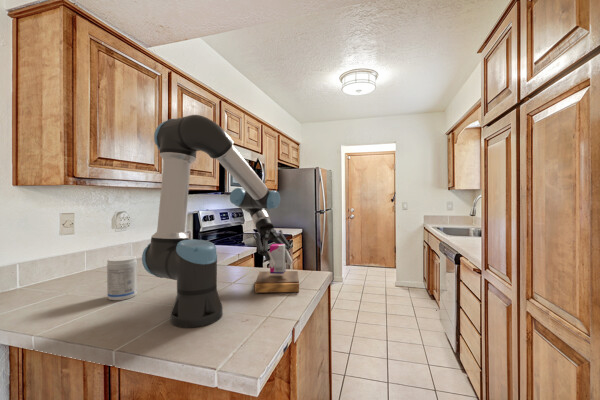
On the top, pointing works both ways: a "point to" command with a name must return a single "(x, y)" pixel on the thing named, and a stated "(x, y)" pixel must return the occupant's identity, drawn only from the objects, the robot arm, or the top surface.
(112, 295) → the supplement tub
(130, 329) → the top surface
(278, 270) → the supplement box
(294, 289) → the dock
